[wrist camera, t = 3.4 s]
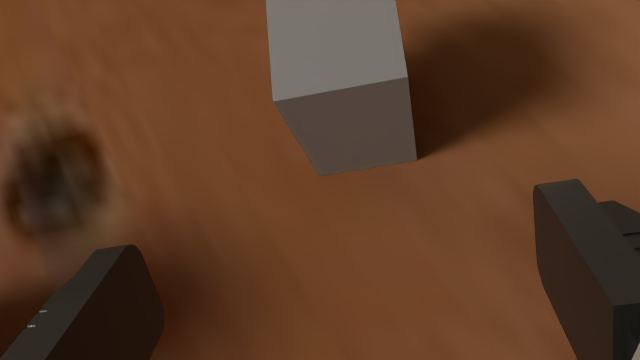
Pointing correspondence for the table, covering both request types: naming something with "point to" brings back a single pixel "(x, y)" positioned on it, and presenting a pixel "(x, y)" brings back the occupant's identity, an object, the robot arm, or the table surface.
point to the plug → (342, 81)
